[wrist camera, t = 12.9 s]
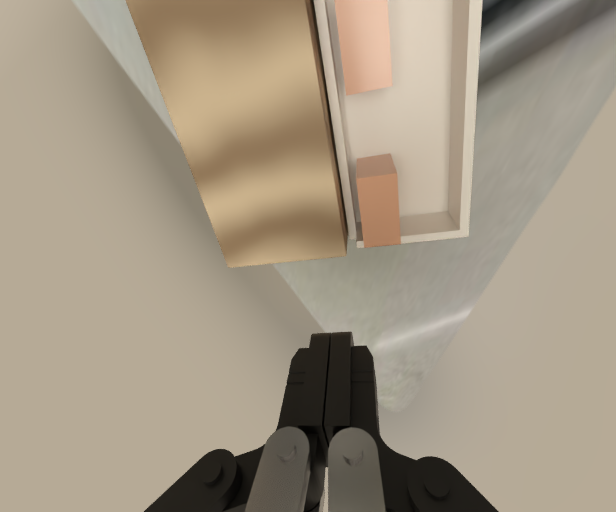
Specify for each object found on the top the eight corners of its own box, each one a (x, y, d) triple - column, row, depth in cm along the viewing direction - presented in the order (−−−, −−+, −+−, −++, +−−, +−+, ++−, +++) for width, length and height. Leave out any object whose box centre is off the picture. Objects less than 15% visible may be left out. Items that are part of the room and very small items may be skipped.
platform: (168, 2, 21) (120, -13, 17) (308, -42, 19) (293, -72, 15) (246, 238, 30) (228, 267, 26) (348, 226, 28) (346, 256, 24)
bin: (311, -43, 19) (300, -66, 16) (464, -91, 17) (490, -129, 14) (350, 226, 28) (349, 249, 24) (454, 213, 26) (468, 236, 22)
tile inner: (331, -20, 15) (385, -35, 14) (337, -2, 19) (379, -13, 19) (346, 95, 17) (392, 86, 17) (348, 89, 22) (385, 81, 21)
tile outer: (356, 179, 20) (397, 173, 19) (356, 158, 24) (390, 153, 23) (364, 247, 22) (400, 244, 22) (363, 218, 26) (394, 214, 26)
